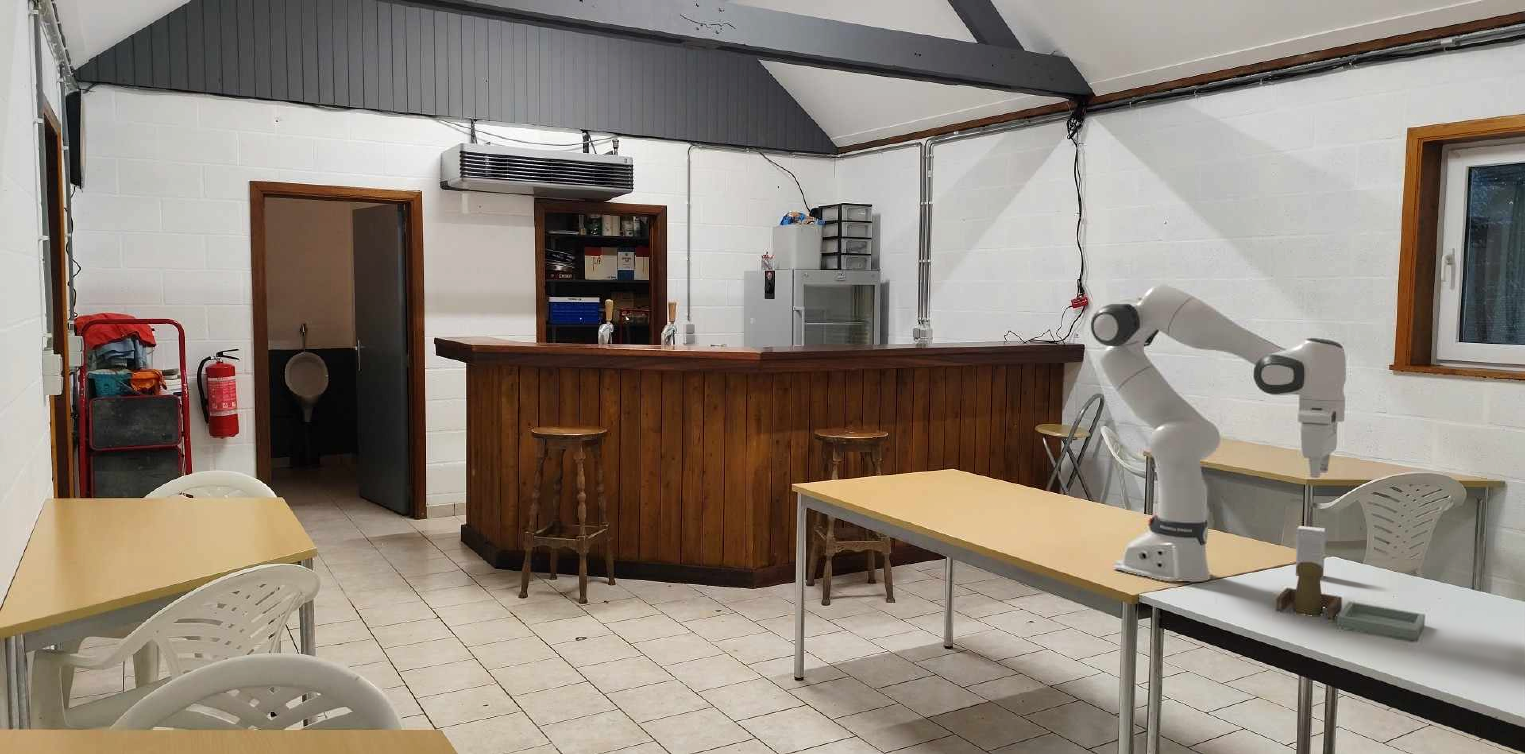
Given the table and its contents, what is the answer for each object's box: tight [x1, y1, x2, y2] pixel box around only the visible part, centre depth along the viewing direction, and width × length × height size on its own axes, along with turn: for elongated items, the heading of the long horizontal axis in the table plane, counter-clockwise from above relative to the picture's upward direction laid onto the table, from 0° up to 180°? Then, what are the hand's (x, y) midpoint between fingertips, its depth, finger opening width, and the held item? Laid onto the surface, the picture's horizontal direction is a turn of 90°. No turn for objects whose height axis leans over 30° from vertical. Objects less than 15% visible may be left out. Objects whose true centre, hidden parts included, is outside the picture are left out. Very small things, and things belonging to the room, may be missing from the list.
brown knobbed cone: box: [1291, 562, 1324, 617], centre depth 221 cm, size 6×6×11 cm
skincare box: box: [1295, 525, 1326, 580], centre depth 252 cm, size 6×4×12 cm
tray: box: [1336, 601, 1426, 643], centre depth 211 cm, size 14×14×2 cm
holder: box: [1275, 587, 1343, 622], centre depth 222 cm, size 11×10×3 cm
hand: (1319, 474), depth 222 cm, fingers open, 8 cm apart
